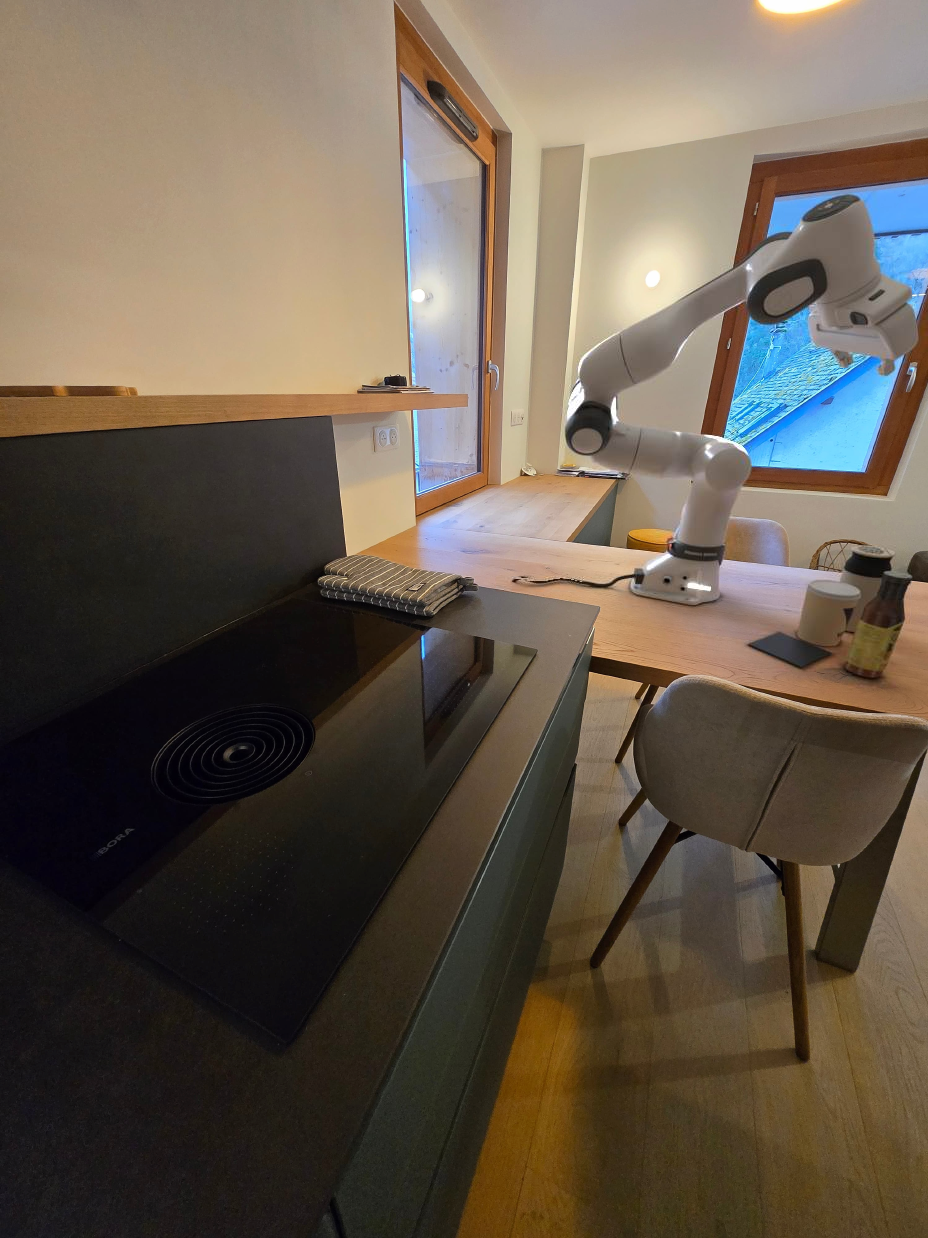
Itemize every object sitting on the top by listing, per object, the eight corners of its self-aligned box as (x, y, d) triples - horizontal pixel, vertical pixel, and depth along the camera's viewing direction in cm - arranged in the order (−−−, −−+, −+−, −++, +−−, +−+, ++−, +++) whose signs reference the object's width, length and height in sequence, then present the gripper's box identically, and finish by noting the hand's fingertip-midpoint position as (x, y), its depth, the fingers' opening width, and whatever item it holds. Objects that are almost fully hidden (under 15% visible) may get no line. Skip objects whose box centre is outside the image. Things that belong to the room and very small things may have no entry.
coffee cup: (844, 652, 102) (864, 599, 97) (792, 641, 107) (808, 590, 101) (842, 634, 109) (860, 584, 104) (793, 625, 114) (807, 576, 108)
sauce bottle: (883, 683, 92) (925, 583, 83) (842, 674, 95) (878, 577, 86) (880, 667, 96) (919, 572, 88) (841, 659, 100) (875, 566, 91)
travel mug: (825, 627, 112) (850, 552, 104) (826, 615, 118) (850, 542, 110) (869, 636, 108) (899, 558, 100) (867, 623, 114) (895, 548, 106)
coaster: (800, 668, 97) (801, 666, 97) (748, 645, 105) (748, 643, 105) (831, 654, 101) (832, 652, 101) (778, 633, 110) (779, 631, 110)
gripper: (791, 309, 93) (810, 371, 101) (879, 317, 77) (894, 391, 84) (824, 284, 92) (840, 349, 99) (921, 287, 75) (932, 364, 82)
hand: (866, 368), depth 91 cm, fingers open, 8 cm apart
